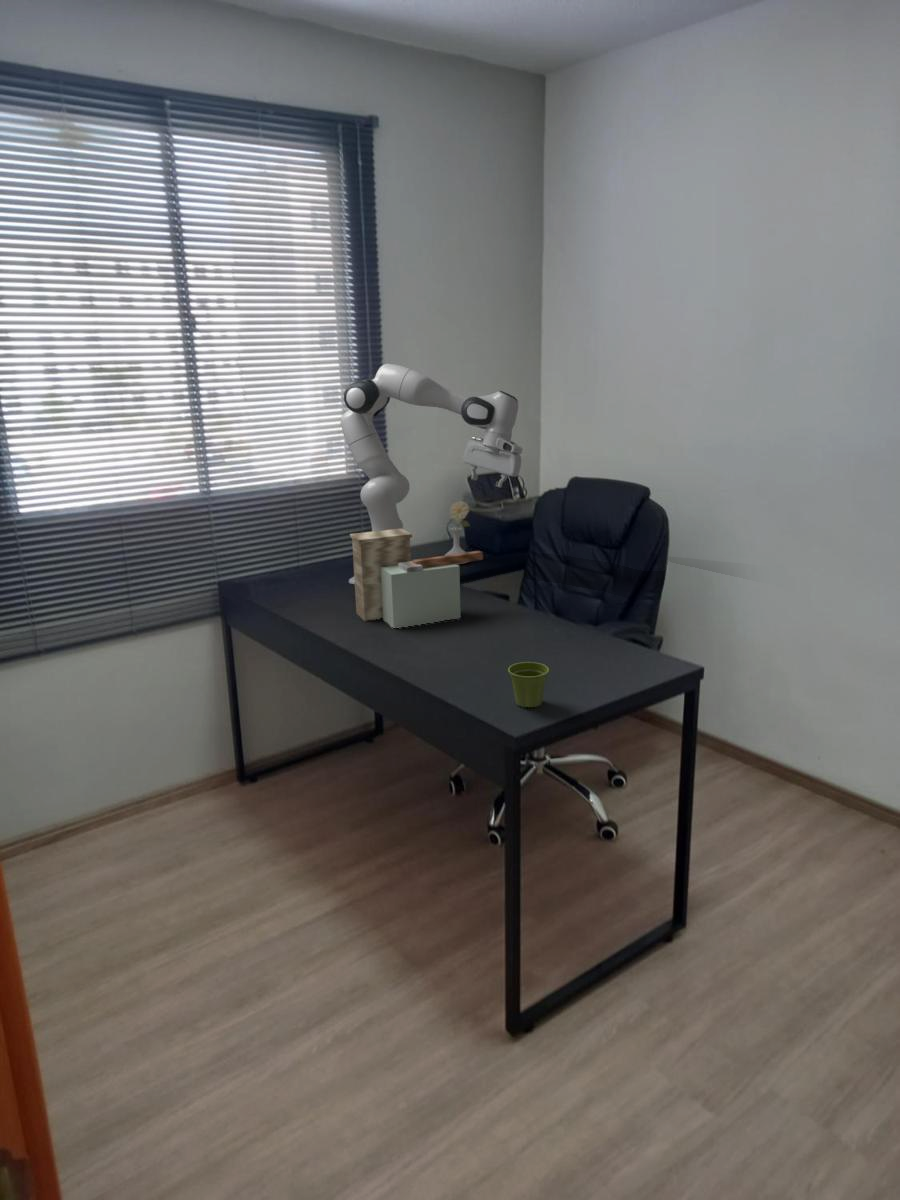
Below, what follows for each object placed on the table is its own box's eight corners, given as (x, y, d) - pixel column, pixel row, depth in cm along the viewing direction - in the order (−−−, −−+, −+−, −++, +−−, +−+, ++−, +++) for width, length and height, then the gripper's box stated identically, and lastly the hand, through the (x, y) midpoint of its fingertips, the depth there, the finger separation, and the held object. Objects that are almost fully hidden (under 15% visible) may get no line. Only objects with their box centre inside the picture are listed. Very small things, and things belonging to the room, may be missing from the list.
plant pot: (532, 715, 190) (533, 679, 187) (500, 704, 196) (500, 670, 193) (556, 702, 197) (556, 667, 194) (524, 692, 203) (524, 659, 200)
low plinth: (448, 610, 268) (446, 559, 264) (460, 618, 259) (459, 565, 255) (383, 620, 260) (380, 567, 255) (393, 629, 251) (391, 574, 247)
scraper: (475, 556, 266) (475, 549, 265) (486, 561, 260) (486, 553, 259) (397, 567, 254) (397, 560, 254) (407, 572, 248) (406, 565, 248)
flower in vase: (436, 563, 329) (434, 500, 322) (457, 558, 336) (456, 496, 329) (459, 568, 319) (457, 504, 312) (480, 563, 327) (479, 500, 320)
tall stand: (404, 606, 274) (401, 528, 267) (415, 614, 265) (411, 534, 258) (354, 613, 268) (349, 533, 260) (363, 621, 259) (359, 540, 252)
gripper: (465, 434, 276) (455, 475, 280) (519, 448, 267) (508, 490, 270) (474, 436, 282) (464, 476, 285) (527, 450, 273) (516, 491, 276)
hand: (486, 483), depth 278 cm, fingers open, 8 cm apart
